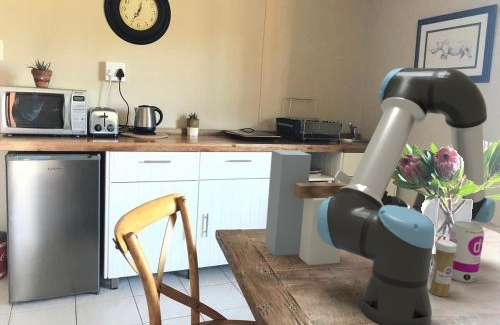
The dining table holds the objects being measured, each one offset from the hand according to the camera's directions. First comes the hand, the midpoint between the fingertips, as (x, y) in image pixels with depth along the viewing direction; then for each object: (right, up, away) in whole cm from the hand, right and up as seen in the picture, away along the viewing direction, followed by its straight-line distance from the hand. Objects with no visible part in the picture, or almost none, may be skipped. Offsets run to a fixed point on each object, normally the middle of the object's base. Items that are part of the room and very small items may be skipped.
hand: (349, 178), depth 121 cm
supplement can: (+30, -27, -4) cm, 41 cm away
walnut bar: (-5, -5, -1) cm, 7 cm away
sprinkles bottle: (+19, -29, -14) cm, 37 cm away
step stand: (-13, -23, +5) cm, 27 cm away
